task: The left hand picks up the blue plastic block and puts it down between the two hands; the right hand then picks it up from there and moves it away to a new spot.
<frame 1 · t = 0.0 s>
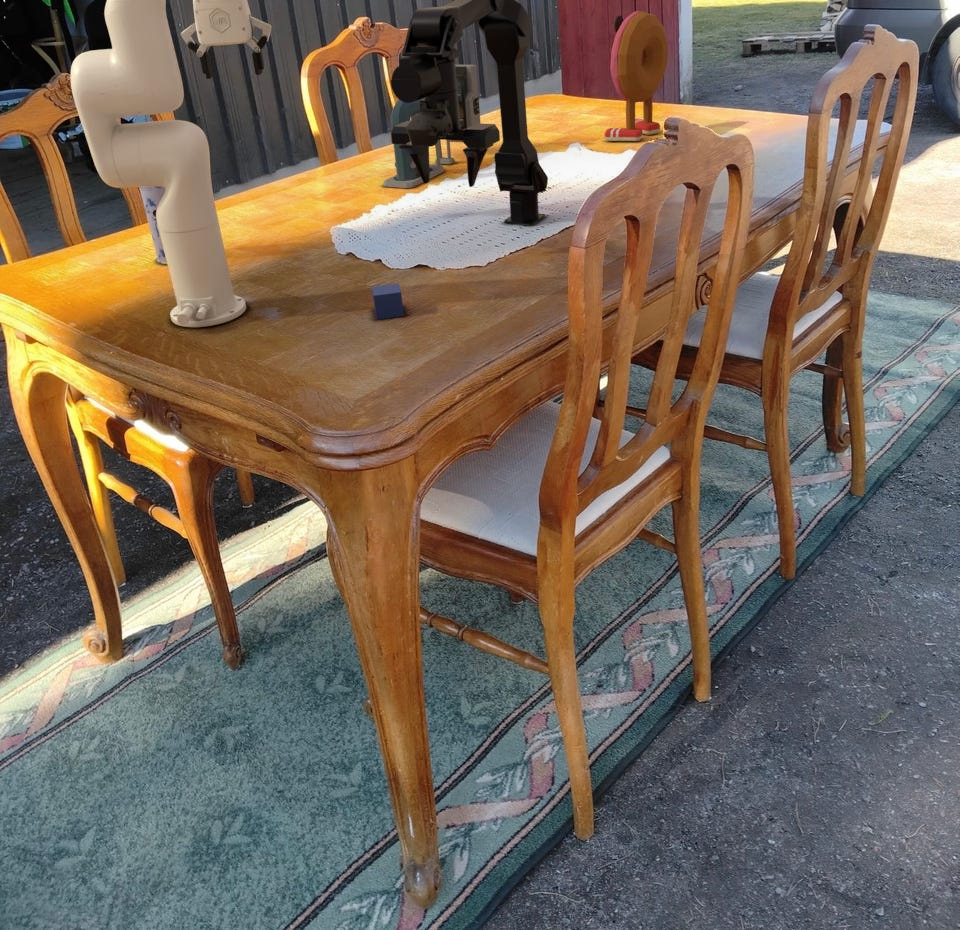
left hand: (234, 75, 187), 31 cm above the table, tool pointing down, fingers open, 9 cm apart
right hand: (448, 184, 169), 15 cm above the table, tool pointing down, fingers open, 9 cm apart
block: (389, 313, 159), on the table
toy: (634, 136, 254), on the table
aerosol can: (177, 258, 193), on the table
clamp: (433, 169, 240), on the table
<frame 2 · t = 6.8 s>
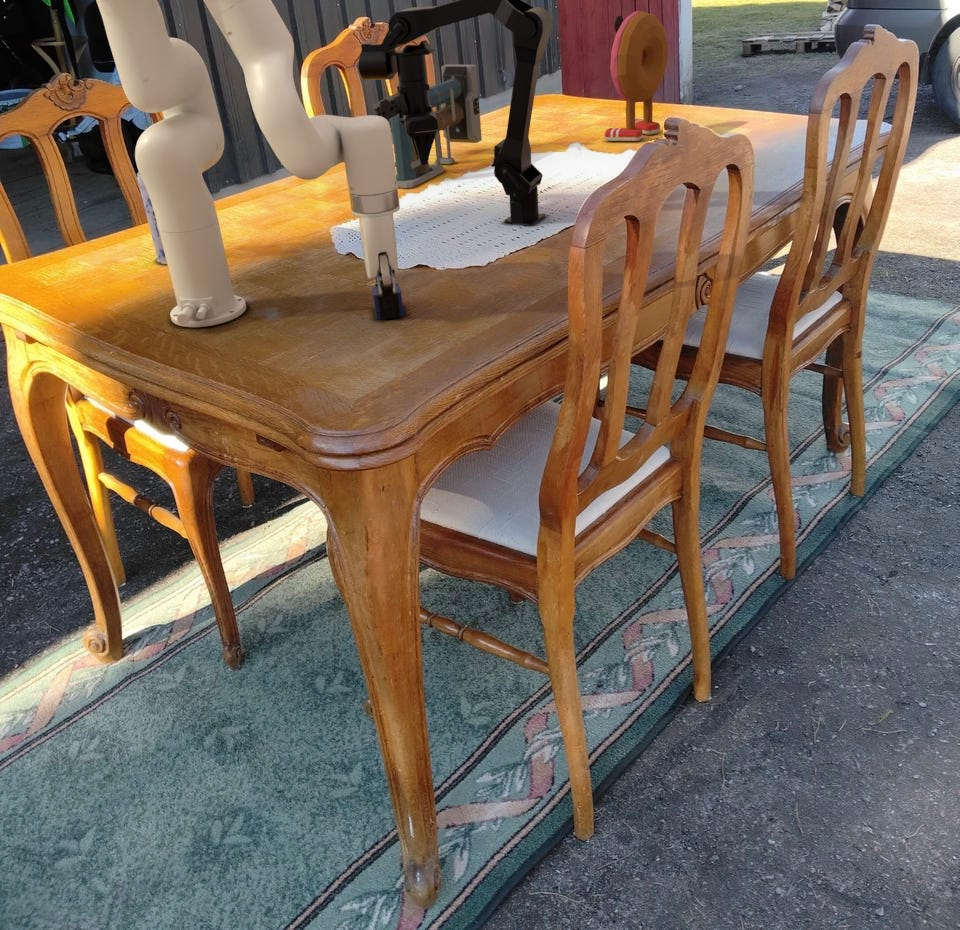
left hand: (388, 310, 159), 0 cm above the table, tool pointing down, fingers closed on block, 4 cm apart
right hand: (421, 159, 199), 12 cm above the table, tool pointing down, fingers open, 9 cm apart
block: (389, 313, 159), on the table, touching left hand
everything else where it was.
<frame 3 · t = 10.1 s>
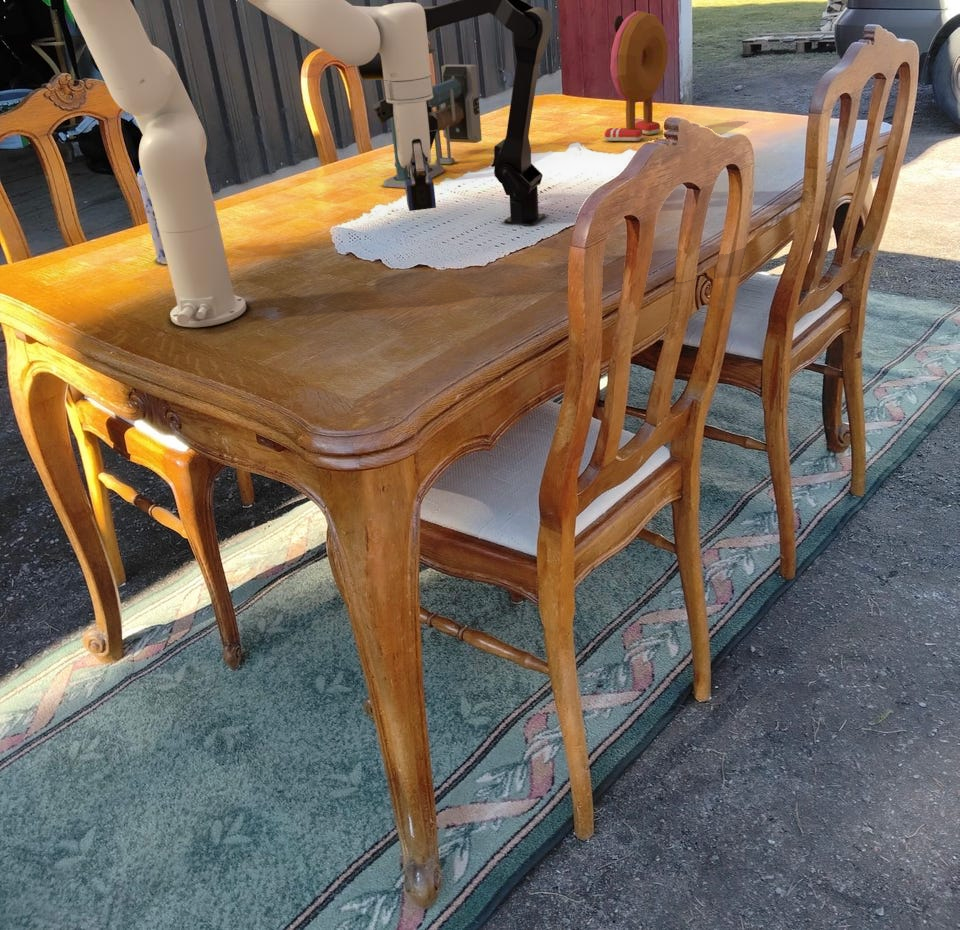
left hand: (421, 203, 162), 14 cm above the table, tool pointing down, fingers closed on block, 4 cm apart
right hand: (421, 159, 199), 12 cm above the table, tool pointing down, fingers open, 9 cm apart
block: (421, 206, 162), point 14 cm above the table, touching left hand
everything else where it was.
when the left hand's fingers open (1 cm above the table, at t = 13.3 s): block stays where it is, on the table.
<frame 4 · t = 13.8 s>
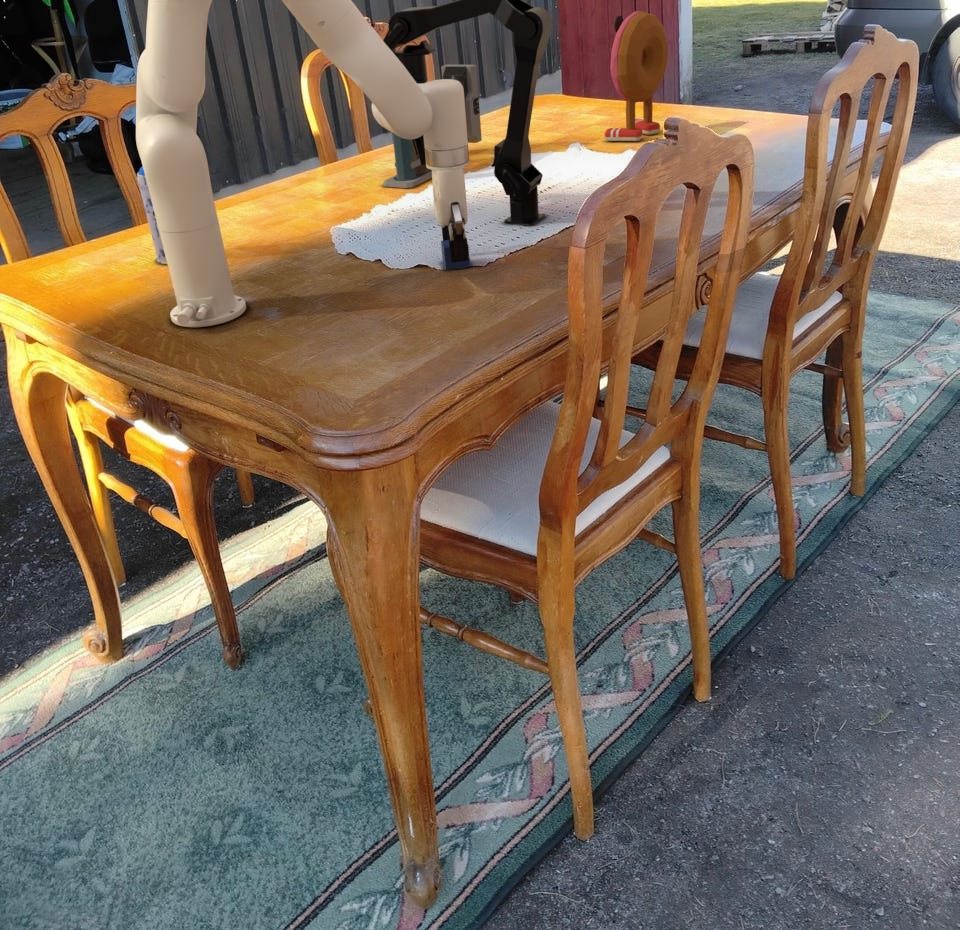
left hand: (455, 252, 176), 2 cm above the table, tool pointing down, fingers open, 9 cm apart
right hand: (421, 159, 199), 12 cm above the table, tool pointing down, fingers open, 9 cm apart
block: (456, 264, 177), on the table
everything else where it was.
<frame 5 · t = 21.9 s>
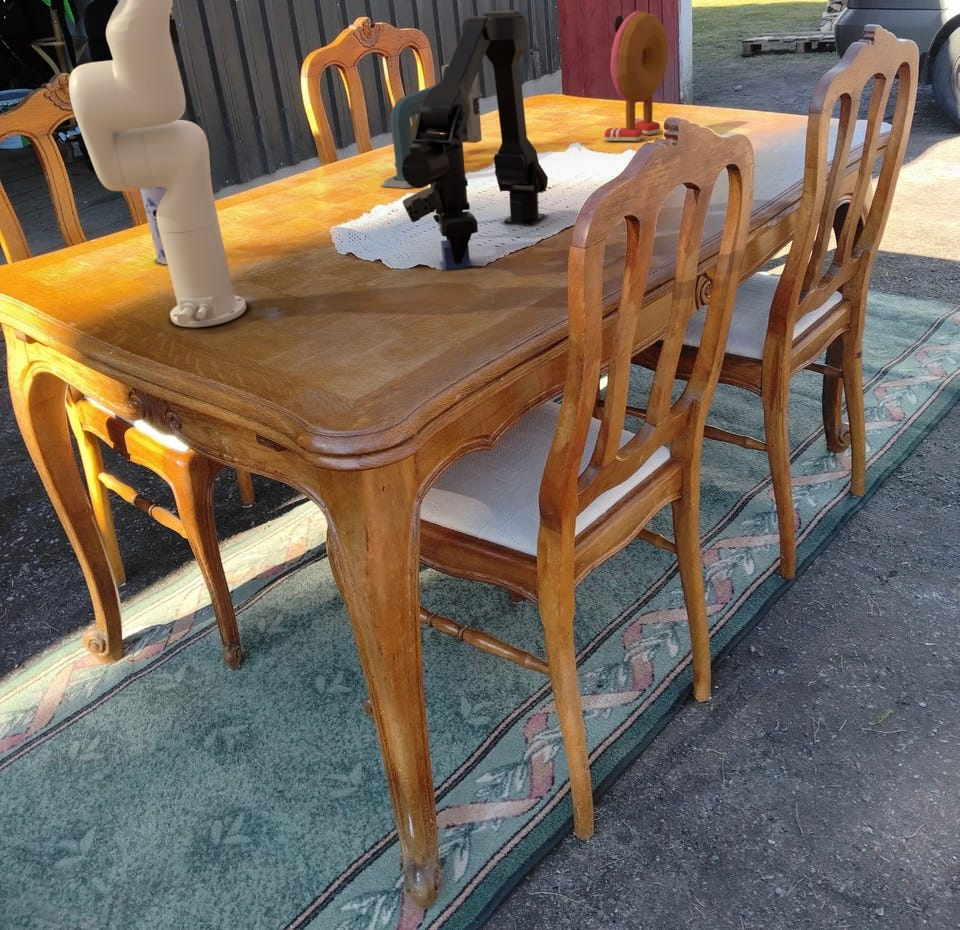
left hand: (167, 46, 174), 39 cm above the table, tool pointing down, fingers open, 9 cm apart
right hand: (456, 259, 177), 1 cm above the table, tool pointing down, fingers closed on block, 4 cm apart
block: (456, 264, 177), on the table, touching right hand
everything else where it was.
when the right hand's fingers open (2 cm above the table, at t = 29.9 s): block stays where it is, on the table.
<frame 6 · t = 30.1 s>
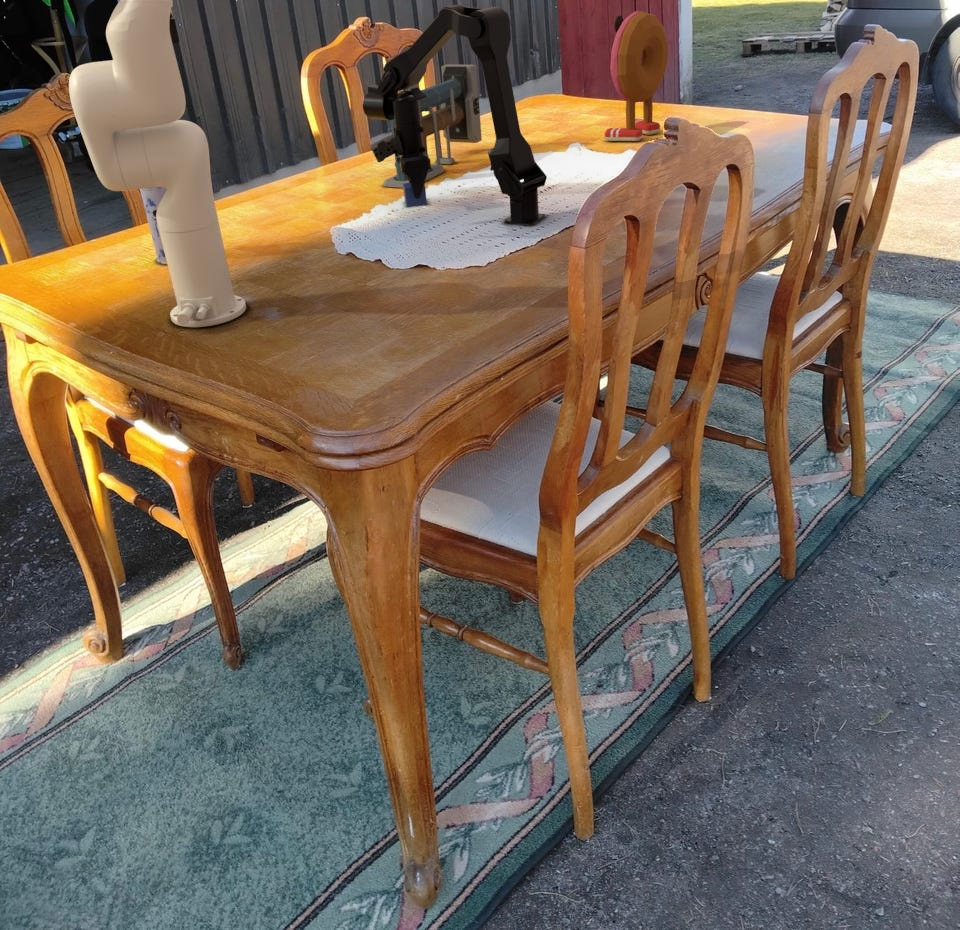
left hand: (167, 46, 174), 39 cm above the table, tool pointing down, fingers open, 9 cm apart
right hand: (415, 194, 214), 2 cm above the table, tool pointing down, fingers open, 6 cm apart
block: (415, 203, 214), on the table
everything else where it was.
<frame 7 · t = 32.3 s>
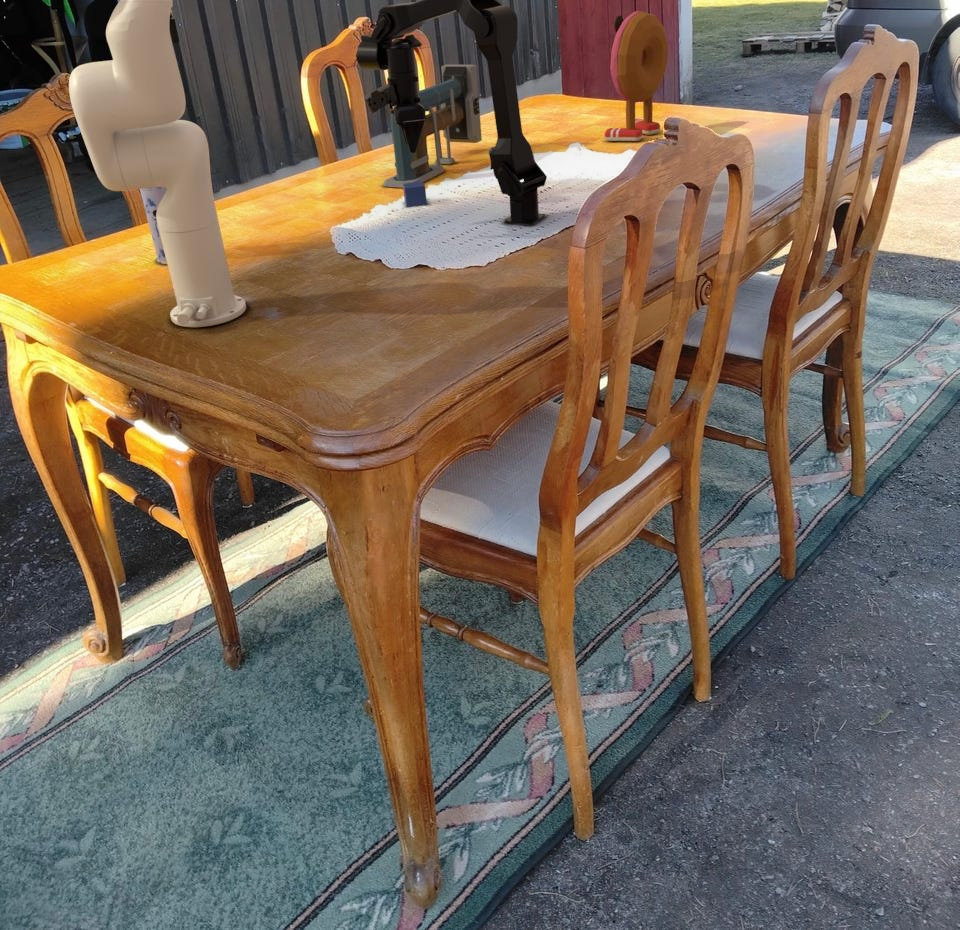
left hand: (167, 46, 174), 39 cm above the table, tool pointing down, fingers open, 9 cm apart
right hand: (410, 148, 208), 12 cm above the table, tool pointing down, fingers open, 9 cm apart
nothing on the table moved.
at the end: block inside the target area (0.2 cm from its centre), on the table; block tilted 0°; the two hands never held the block at the same time; the left hand is holding nothing; the right hand is holding nothing; block at rest at the end (0.0 cm/s) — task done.
